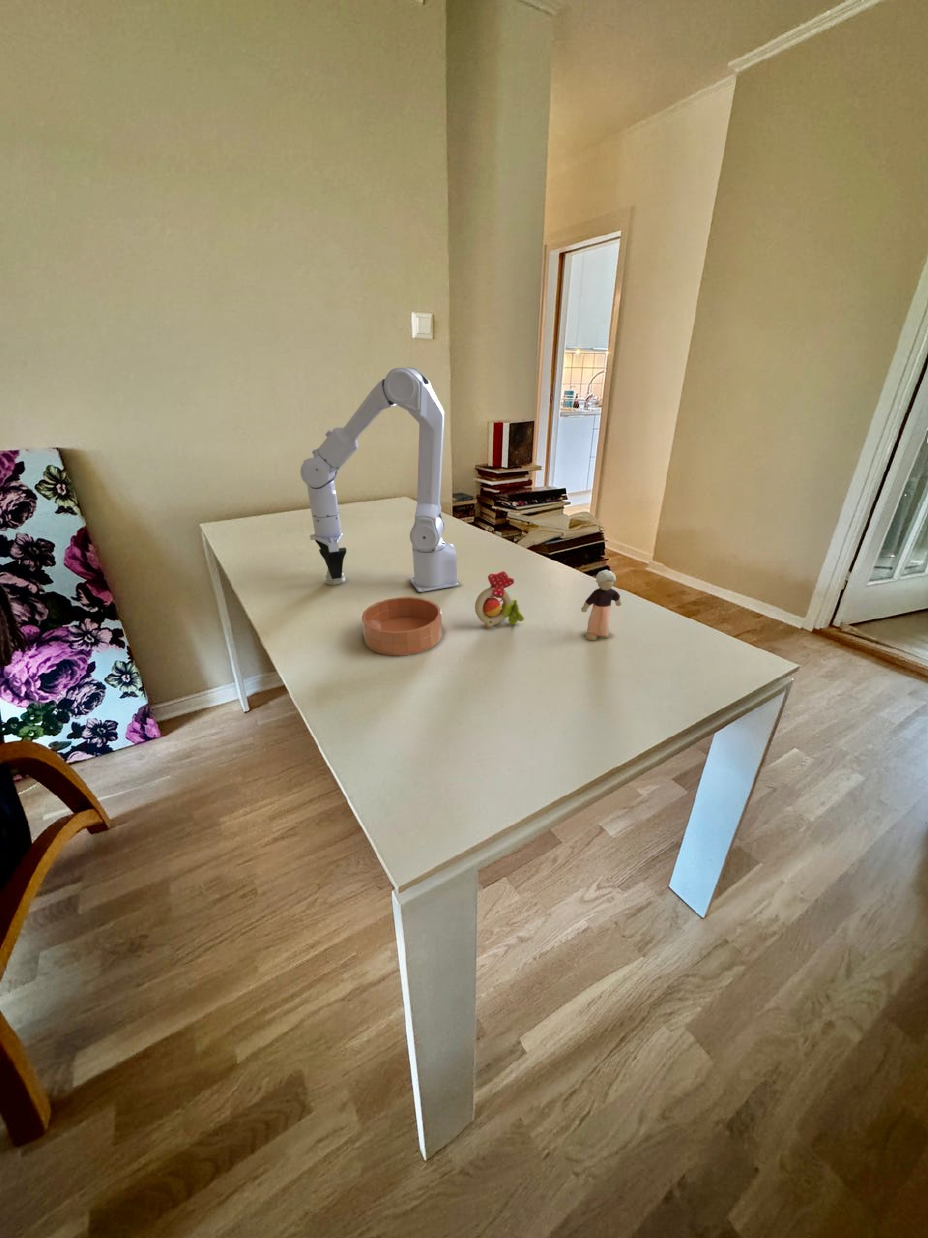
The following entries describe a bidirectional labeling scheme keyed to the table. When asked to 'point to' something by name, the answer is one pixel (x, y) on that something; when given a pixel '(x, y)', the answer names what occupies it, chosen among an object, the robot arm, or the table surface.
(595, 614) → the grandmother figurine
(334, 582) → the rook chess piece
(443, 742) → the table surface
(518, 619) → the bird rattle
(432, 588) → the robot arm
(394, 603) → the pan
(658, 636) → the table surface
